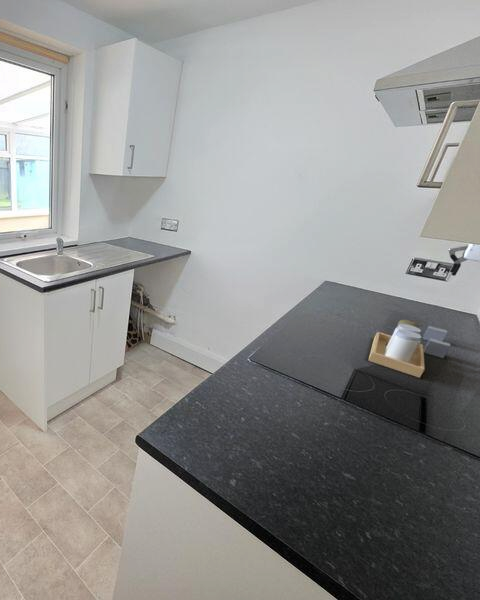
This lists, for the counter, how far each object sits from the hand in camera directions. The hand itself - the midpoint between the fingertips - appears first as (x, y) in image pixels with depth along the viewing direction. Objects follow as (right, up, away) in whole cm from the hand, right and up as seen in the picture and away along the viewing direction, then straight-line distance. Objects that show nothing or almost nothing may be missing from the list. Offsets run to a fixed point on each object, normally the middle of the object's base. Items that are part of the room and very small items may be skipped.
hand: (474, 278), depth 104 cm
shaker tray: (-21, -27, +6) cm, 35 cm away
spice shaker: (-21, -27, +5) cm, 34 cm away
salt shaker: (-26, -28, +1) cm, 38 cm away
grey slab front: (-4, -27, +9) cm, 29 cm away
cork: (-16, -25, +10) cm, 31 cm away
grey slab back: (+7, -23, +19) cm, 31 cm away
